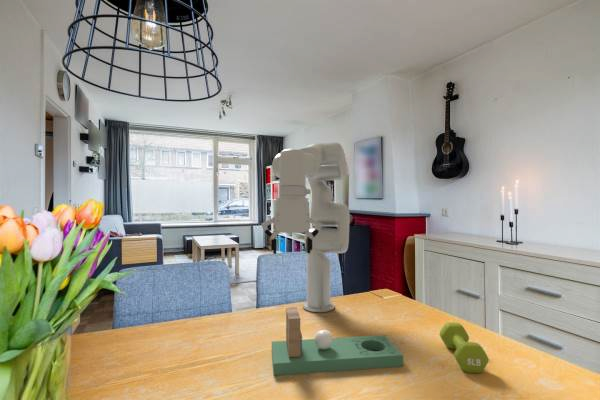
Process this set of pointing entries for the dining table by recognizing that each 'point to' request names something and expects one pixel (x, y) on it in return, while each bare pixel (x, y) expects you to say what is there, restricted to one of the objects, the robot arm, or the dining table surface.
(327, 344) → the ball
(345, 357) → the putting mat
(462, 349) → the dumbbell
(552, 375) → the dining table surface
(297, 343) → the upright wooden plank
